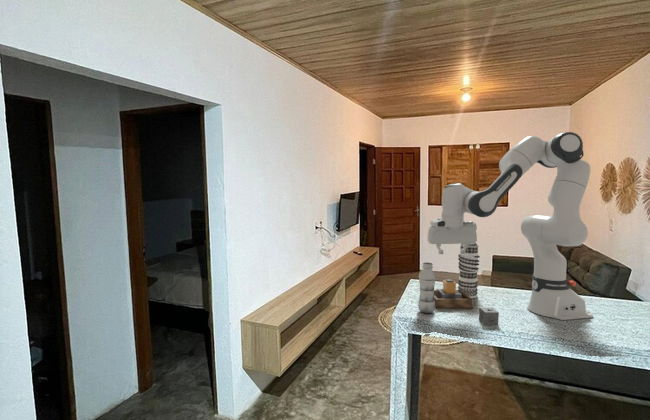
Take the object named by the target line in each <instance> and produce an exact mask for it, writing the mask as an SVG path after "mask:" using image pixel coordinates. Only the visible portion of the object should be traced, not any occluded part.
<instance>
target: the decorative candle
mask: <svg viewBox="0 0 650 420" xmlns="http://www.w3.org/2000/svg"><path fill="white" fill-rule="evenodd" d="M459 246H460V248H459V249H463V247H464V245H463V244H459ZM479 247H480V246H479V245H478V243H477V242H476V243H468V247H467V249H466V250H465V254H461V253H460V252H461V251H459V253H458V271H459V277H458V280H457V282H458V283H457V284H458V286H457V290H461V291H462V292H464V293H465V294H466V295H467V296H469V297H470V298H471V299H475V298H477V297H478V294H479V293H478V289H479V288H478V287H479V286H478V283H479V281H478V272H479V270H480V269H479V267H478V266H479V265H480V263H479V262H480V260H479V258H480V257H481V256H480V255H479Z"/></svg>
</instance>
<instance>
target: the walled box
mask: <svg viewBox="0 0 650 420" xmlns="http://www.w3.org/2000/svg"><path fill="white" fill-rule="evenodd" d="M434 301H435V310H448V309H449V310H460V309H461V310H464V309H465V310H468V309H469V310H472V309H473V298H470V297H469V296H467V295H466V294H465V293H464V292H462V291H461V290H458V289H456V293H444V292H443V288H436V289H434Z"/></svg>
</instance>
